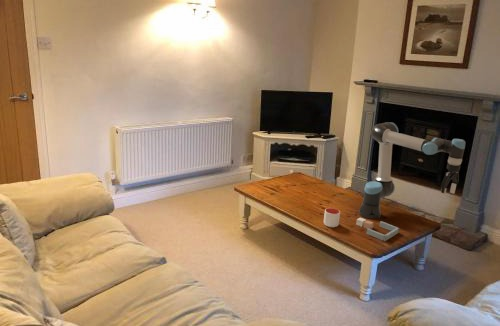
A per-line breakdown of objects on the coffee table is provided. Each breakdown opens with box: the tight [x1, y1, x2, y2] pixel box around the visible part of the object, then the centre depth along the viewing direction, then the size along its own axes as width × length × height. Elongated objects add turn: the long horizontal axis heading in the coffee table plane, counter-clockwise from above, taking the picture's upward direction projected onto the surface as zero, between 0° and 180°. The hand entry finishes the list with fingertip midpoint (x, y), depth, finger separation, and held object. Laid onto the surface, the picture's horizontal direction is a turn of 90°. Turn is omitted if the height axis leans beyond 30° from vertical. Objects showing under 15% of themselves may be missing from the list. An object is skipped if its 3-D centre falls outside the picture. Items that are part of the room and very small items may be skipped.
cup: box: [323, 207, 341, 228], centre depth 274 cm, size 10×10×10 cm
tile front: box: [362, 219, 374, 230], centre depth 273 cm, size 4×4×4 cm
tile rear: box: [355, 217, 367, 228], centre depth 277 cm, size 4×4×4 cm
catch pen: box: [365, 221, 400, 242], centre depth 266 cm, size 13×18×4 cm
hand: (447, 195), depth 264 cm, fingers open, 13 cm apart
